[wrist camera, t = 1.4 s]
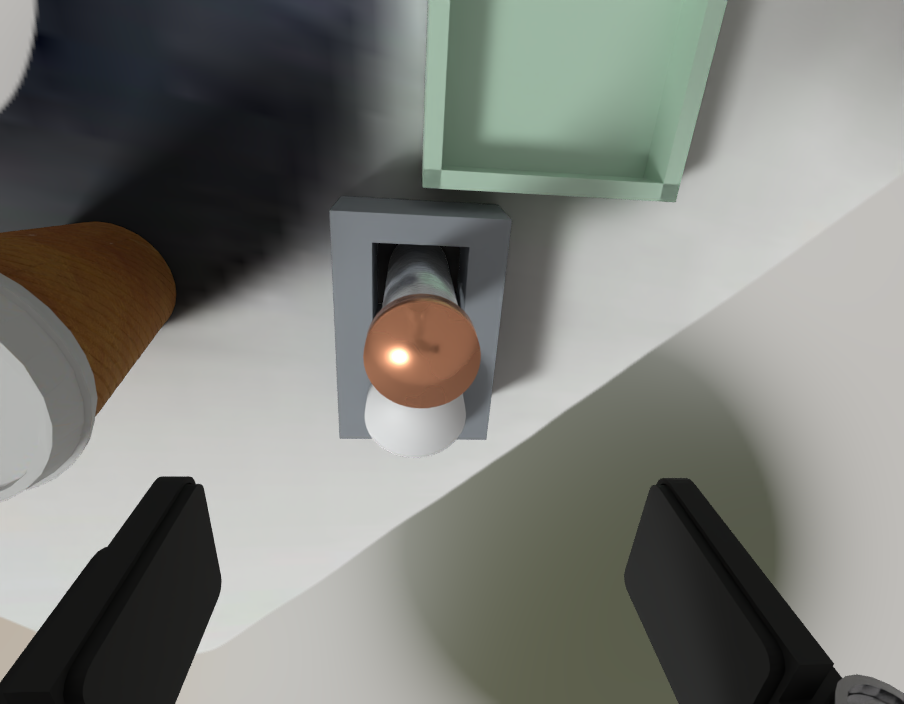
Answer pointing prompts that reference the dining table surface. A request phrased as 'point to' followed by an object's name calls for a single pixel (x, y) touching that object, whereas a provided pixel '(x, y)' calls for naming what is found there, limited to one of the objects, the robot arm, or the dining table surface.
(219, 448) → the dining table surface
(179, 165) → the dining table surface
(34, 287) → the disposable coffee cup
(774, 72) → the dining table surface
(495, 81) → the tray
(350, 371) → the block
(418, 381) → the pin
